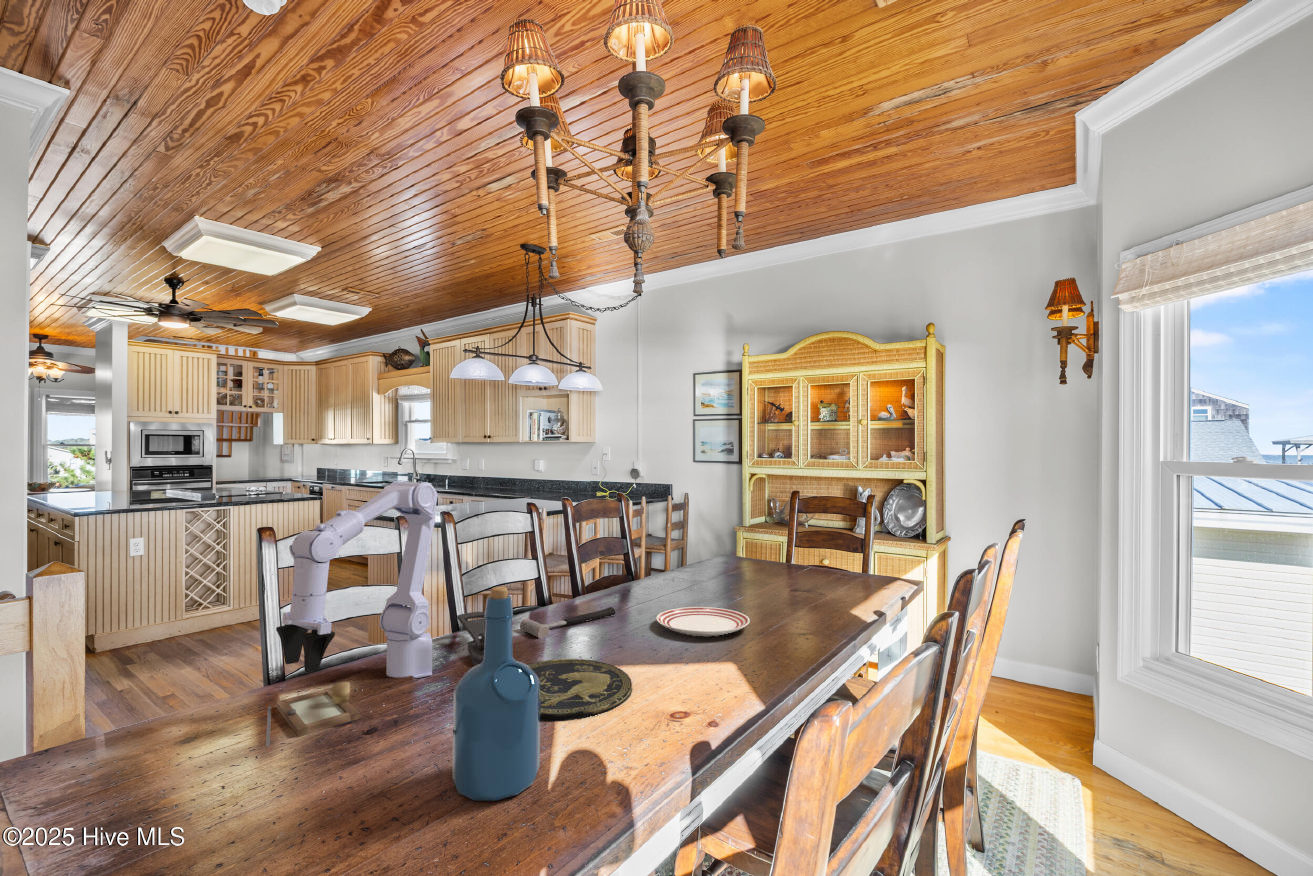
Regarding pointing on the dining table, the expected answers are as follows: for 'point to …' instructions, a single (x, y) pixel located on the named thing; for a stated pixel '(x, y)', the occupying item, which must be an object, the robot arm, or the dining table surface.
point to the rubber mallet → (561, 622)
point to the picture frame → (318, 709)
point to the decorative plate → (579, 688)
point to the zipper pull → (475, 634)
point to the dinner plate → (703, 621)
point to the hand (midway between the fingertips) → (301, 667)
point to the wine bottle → (496, 715)
